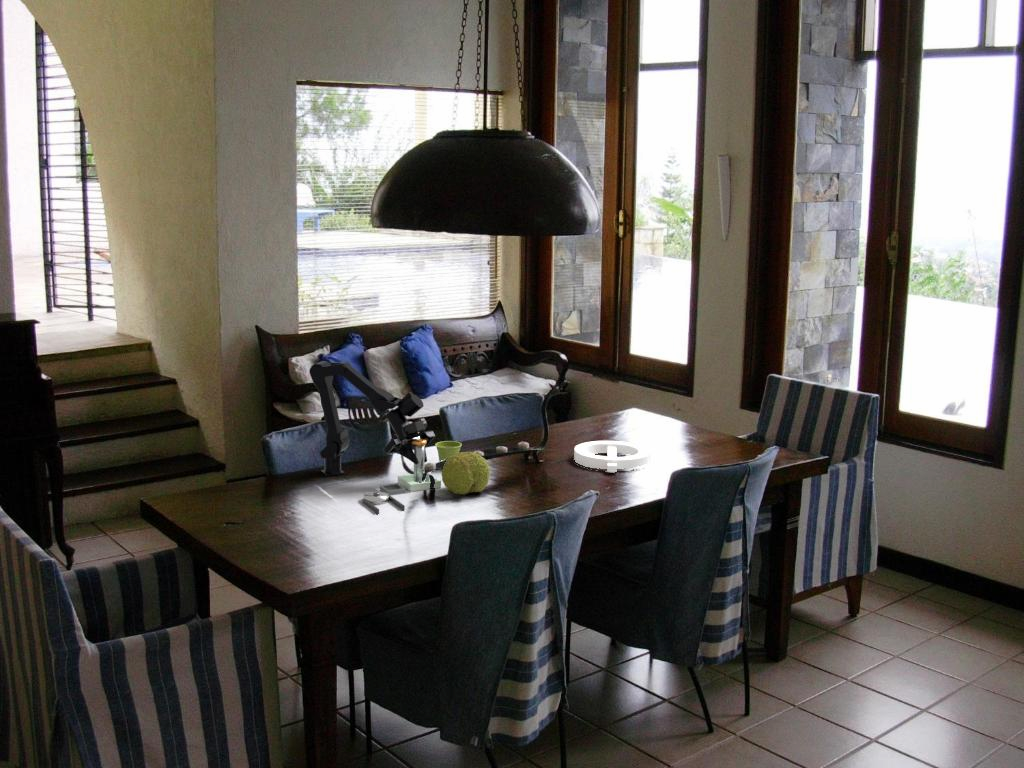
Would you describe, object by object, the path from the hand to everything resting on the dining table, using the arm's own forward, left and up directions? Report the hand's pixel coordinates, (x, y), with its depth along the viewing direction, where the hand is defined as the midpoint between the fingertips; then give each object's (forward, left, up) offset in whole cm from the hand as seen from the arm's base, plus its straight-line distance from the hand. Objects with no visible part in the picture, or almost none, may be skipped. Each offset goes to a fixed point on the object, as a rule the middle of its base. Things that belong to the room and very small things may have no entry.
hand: (421, 462), depth 378 cm
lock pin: (-1, 0, -7) cm, 7 cm away
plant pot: (-19, +19, -9) cm, 29 cm away
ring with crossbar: (-2, +78, -9) cm, 79 cm away
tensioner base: (+1, -11, -9) cm, 14 cm away
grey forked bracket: (+13, -20, -9) cm, 25 cm away
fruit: (+11, +11, -9) cm, 18 cm away
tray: (-1, 0, -9) cm, 9 cm away
